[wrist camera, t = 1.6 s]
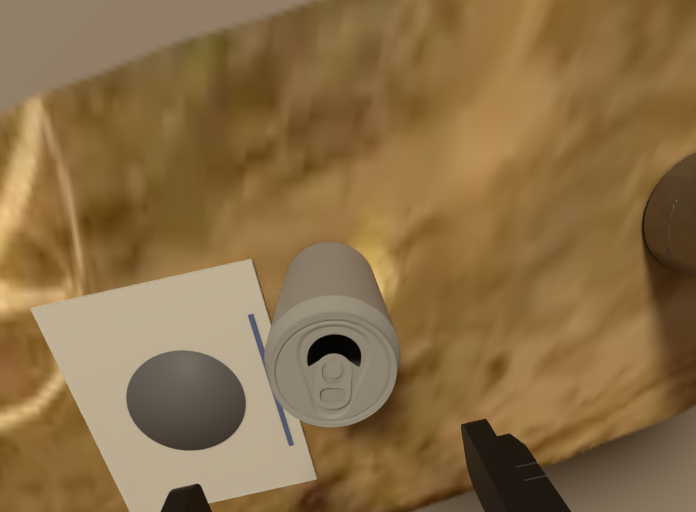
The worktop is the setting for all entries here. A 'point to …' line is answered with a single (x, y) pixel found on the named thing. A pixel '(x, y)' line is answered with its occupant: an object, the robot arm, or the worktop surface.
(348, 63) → the worktop surface
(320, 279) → the beverage can
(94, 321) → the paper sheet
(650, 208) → the robot arm
